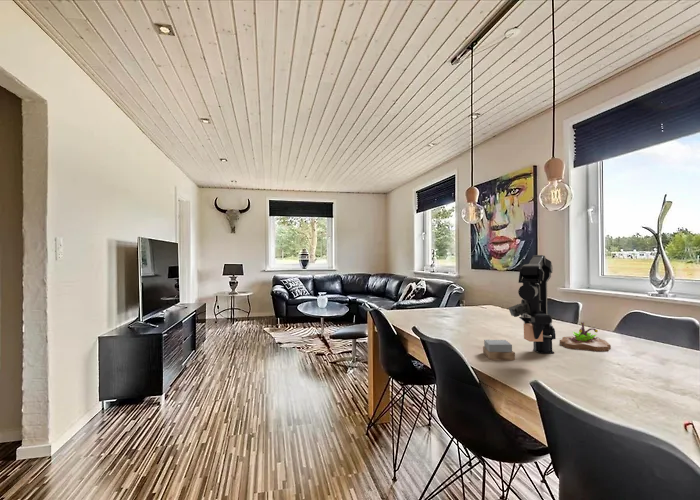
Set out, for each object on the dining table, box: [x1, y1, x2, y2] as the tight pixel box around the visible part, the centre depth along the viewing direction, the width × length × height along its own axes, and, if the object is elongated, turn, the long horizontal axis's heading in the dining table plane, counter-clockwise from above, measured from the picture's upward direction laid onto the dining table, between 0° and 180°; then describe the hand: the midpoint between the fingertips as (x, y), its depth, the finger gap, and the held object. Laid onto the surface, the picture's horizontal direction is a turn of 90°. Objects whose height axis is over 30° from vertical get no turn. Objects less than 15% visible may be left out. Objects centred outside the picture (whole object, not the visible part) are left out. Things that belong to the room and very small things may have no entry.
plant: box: [559, 321, 612, 352], centre depth 168 cm, size 20×20×11 cm
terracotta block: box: [523, 322, 543, 342], centre depth 139 cm, size 5×5×6 cm
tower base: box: [482, 346, 516, 361], centre depth 151 cm, size 10×10×4 cm
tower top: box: [483, 339, 513, 352], centre depth 151 cm, size 9×9×3 cm
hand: (533, 337), depth 139 cm, fingers closed on terracotta block, 5 cm apart
